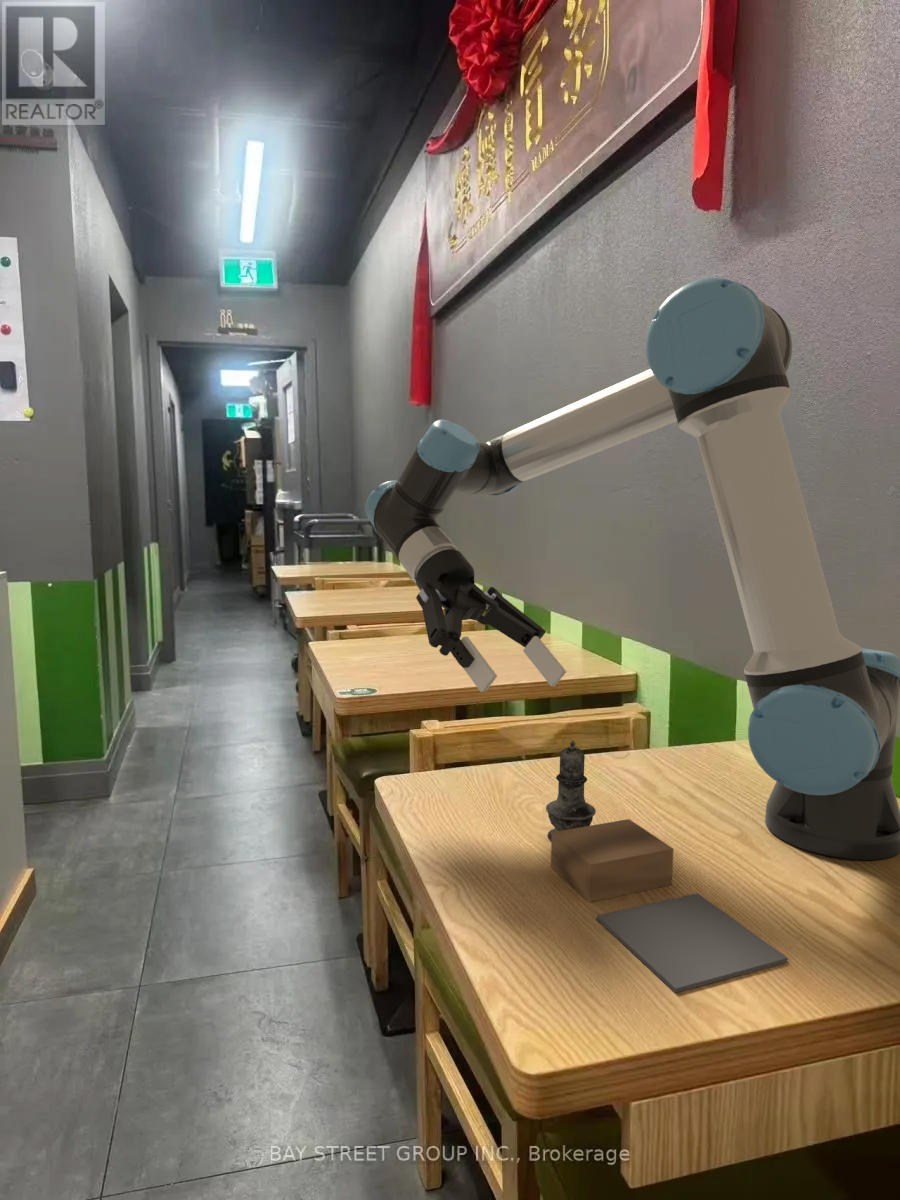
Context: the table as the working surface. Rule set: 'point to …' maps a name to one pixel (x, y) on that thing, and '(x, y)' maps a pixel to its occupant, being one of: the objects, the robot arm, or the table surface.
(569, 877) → the ledge block
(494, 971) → the table surface
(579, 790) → the salt shaker
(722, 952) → the mat
